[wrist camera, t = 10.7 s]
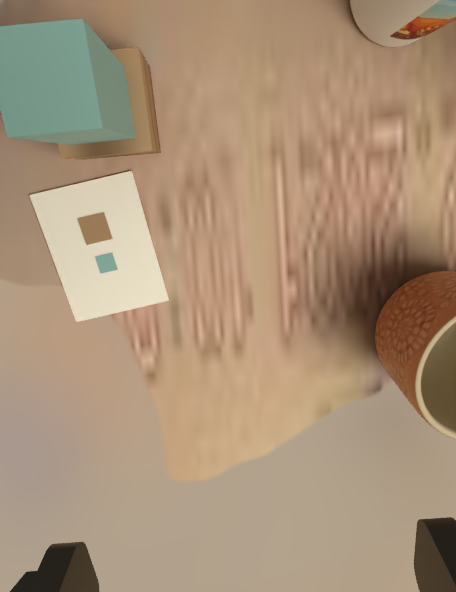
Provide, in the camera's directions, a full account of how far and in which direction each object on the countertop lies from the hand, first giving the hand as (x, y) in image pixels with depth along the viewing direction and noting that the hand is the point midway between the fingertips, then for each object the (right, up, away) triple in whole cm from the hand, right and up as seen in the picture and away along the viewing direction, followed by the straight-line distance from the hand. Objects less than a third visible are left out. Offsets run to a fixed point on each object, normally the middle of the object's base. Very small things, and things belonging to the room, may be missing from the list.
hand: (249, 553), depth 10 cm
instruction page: (-12, +10, +27) cm, 31 cm away
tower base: (-10, +21, +24) cm, 33 cm away
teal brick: (-10, +19, +18) cm, 28 cm away
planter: (+19, +4, +31) cm, 37 cm away
